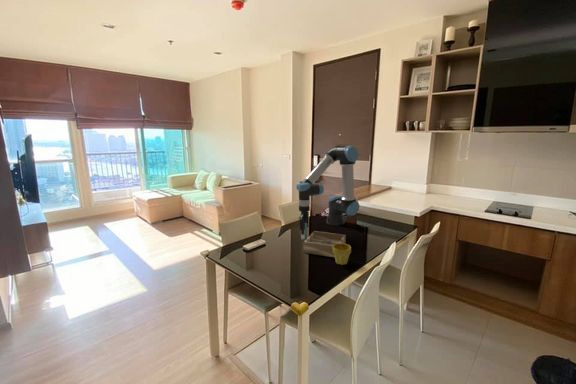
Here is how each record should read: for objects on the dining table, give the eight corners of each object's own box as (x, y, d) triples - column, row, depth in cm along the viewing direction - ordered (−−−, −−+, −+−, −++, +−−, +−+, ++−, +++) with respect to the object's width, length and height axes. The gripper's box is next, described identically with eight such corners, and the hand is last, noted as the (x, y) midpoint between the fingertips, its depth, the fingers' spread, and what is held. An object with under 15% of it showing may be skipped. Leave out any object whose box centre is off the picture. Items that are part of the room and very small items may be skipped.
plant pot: (339, 268, 153) (340, 251, 151) (328, 260, 162) (329, 245, 160) (354, 264, 157) (354, 248, 155) (342, 257, 166) (343, 241, 164)
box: (314, 240, 193) (314, 230, 192) (345, 244, 185) (345, 234, 184) (303, 252, 173) (303, 241, 172) (338, 258, 165) (338, 247, 164)
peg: (302, 238, 198) (302, 222, 195) (307, 238, 196) (307, 222, 194) (300, 240, 194) (300, 223, 192) (305, 240, 192) (306, 224, 190)
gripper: (303, 202, 199) (303, 232, 204) (294, 207, 184) (294, 240, 188) (313, 202, 196) (312, 233, 201) (305, 208, 181) (305, 242, 186)
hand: (304, 237), depth 195 cm, fingers open, 4 cm apart
